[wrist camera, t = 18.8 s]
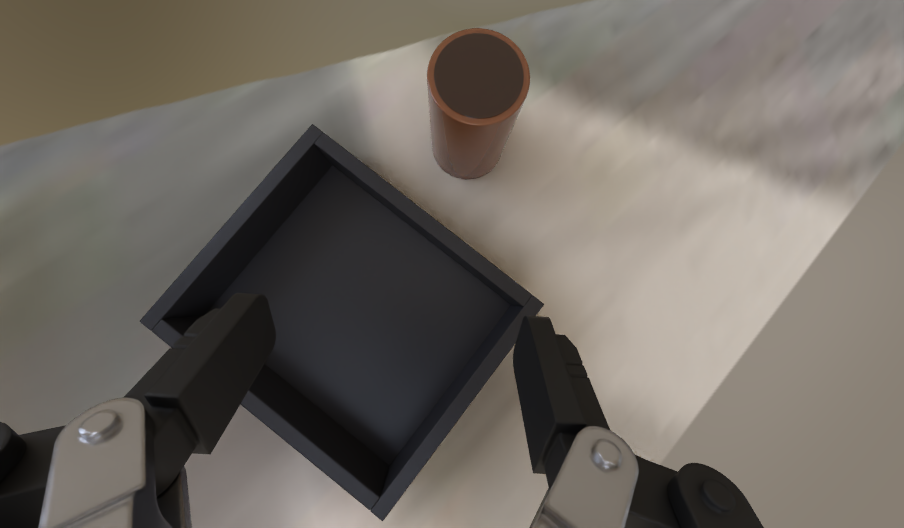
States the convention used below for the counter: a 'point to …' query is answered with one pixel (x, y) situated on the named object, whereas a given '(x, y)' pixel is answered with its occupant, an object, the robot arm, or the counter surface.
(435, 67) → the brown cup
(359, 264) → the dark square tray
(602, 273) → the counter surface
